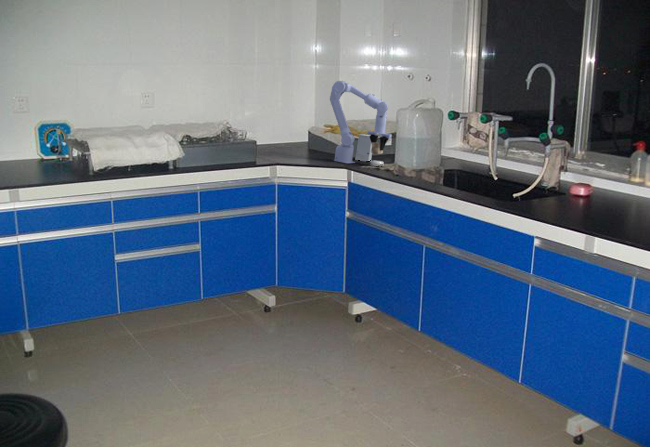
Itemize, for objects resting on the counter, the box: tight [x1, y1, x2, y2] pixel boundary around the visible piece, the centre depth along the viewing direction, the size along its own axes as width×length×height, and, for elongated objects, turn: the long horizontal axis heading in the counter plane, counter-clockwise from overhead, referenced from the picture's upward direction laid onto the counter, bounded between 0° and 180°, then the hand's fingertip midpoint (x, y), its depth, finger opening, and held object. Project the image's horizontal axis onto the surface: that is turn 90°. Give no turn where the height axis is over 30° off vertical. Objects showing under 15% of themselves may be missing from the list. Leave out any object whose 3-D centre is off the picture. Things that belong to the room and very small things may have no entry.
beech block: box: [371, 141, 384, 155], centre depth 369 cm, size 4×4×6 cm
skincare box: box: [355, 133, 373, 162], centre depth 387 cm, size 8×6×15 cm
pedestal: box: [370, 159, 384, 167], centre depth 372 cm, size 7×7×2 cm
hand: (377, 149), depth 369 cm, fingers closed on beech block, 4 cm apart
